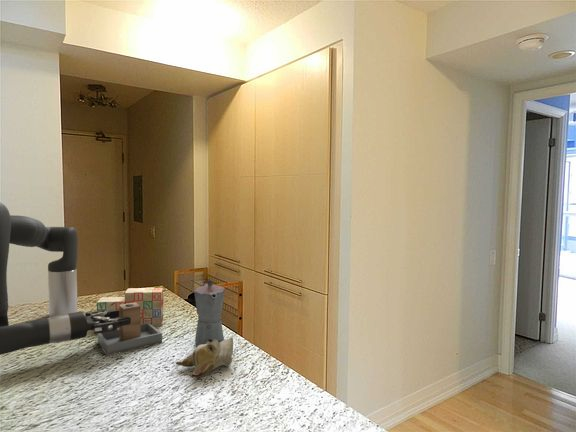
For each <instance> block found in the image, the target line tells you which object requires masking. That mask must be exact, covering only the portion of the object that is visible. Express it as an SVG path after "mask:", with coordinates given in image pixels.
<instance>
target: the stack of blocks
mask: <svg viewBox="0 0 576 432" xmlns="http://www.w3.org/2000/svg"><path fill="white" fill-rule="evenodd" d="M134 302H136V303H137V304H138V305H140V324H144V323H150V324H151V325H152V326H154V327H158V326H159V327H160V326H162V324H163V322H164V287H141V288H140V287H138V288H133V287H132V288H131V287H130V288H127V289H126V291H125V292H124V296H110V297H109V296H105V297H103V296H102V297H100V298H99V299H98V301H96V311H99V310H105V311H115V310H119V305H121V304H127V303H134ZM112 319H119V317H118V318H112Z"/></svg>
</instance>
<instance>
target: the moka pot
mask: <svg viewBox="0 0 576 432" xmlns="http://www.w3.org/2000/svg"><path fill="white" fill-rule="evenodd" d="M225 293H226V288H225V287H223V286H220V285H213V280H208V281H204V283H203V285H202V286H199V287H196V289H194V299H195V308H196V314H197V319H198V320H197V322H196V323H197V325H196V331H195V332H196V333H195V337H194V338H195V339H194V343H195V345H196V346H198V345H201V344H203V343H207V341H208V339H214V340H217V341H218V342H219V343H220V342H222V341H223V340H225V339H224V338H225V337H224V329H223V324H222V313H223V312H222V311H223V306H224V301H225Z"/></svg>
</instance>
